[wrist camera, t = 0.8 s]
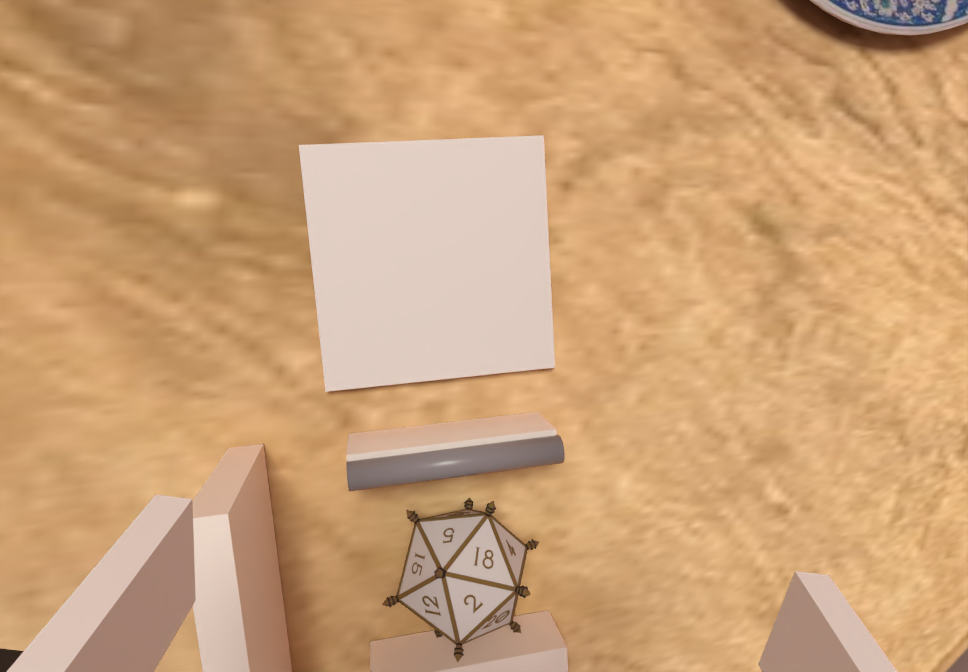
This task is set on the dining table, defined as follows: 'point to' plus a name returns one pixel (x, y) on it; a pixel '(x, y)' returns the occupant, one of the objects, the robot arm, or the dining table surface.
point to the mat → (429, 258)
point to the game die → (463, 574)
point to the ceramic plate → (898, 14)
